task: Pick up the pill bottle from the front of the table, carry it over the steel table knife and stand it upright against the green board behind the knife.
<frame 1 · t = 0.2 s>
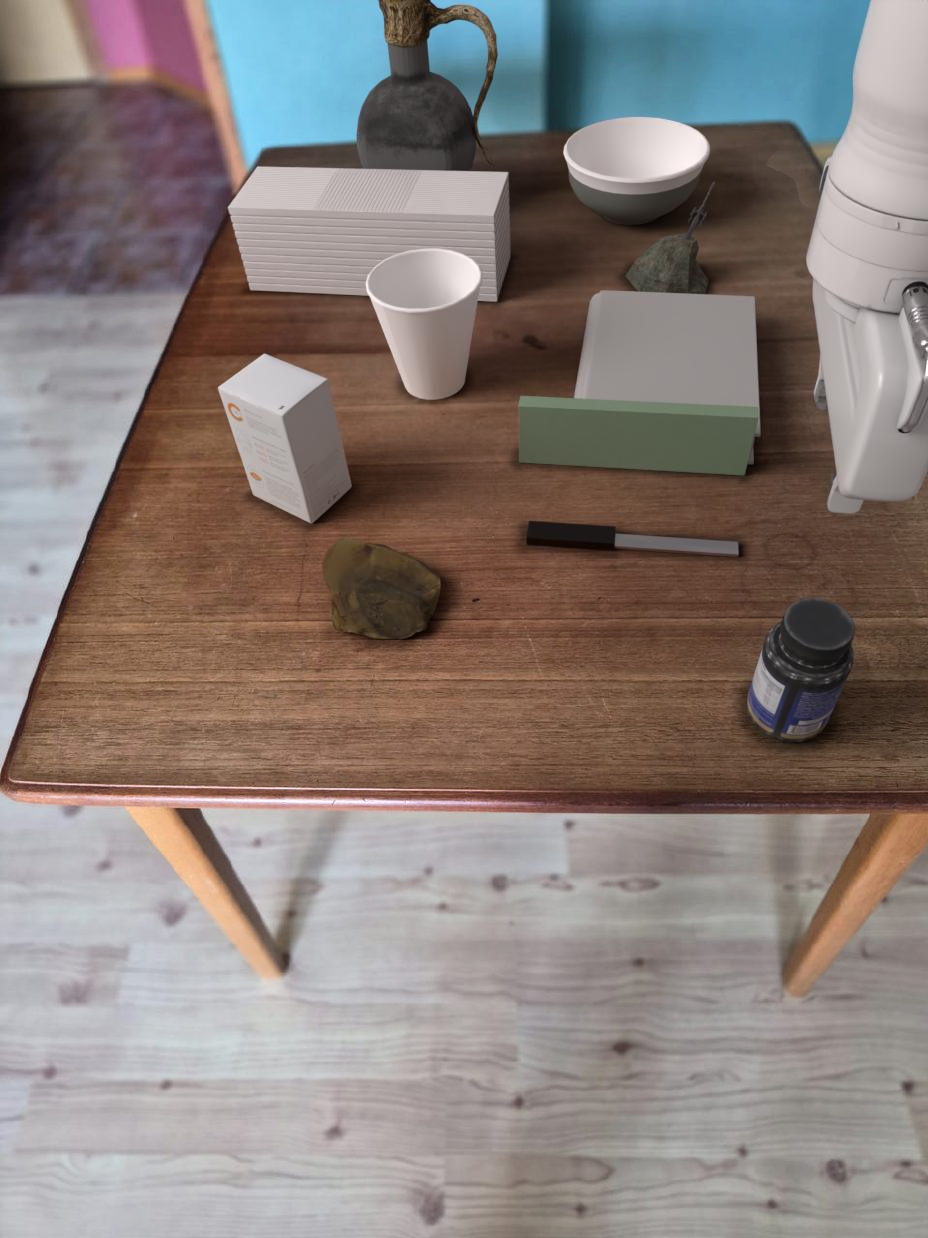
hand: (833, 452, 55), 22 cm above the table, tool pointing down, fingers open, 8 cm apart
white rectangular block: (663, 386, 96), on the table
bowl: (630, 210, 120), on the table
decorative stone: (382, 600, 79), on the table
cup: (434, 382, 99), on the table
white ribbed block: (381, 274, 114), on the table
pill bottle: (784, 713, 69), on the table
table knife: (625, 543, 81), on the table
small box: (303, 493, 88), on the table
green board: (630, 463, 88), on the table
pitcher: (435, 211, 124), on the table
sword in stone: (666, 282, 109), on the table
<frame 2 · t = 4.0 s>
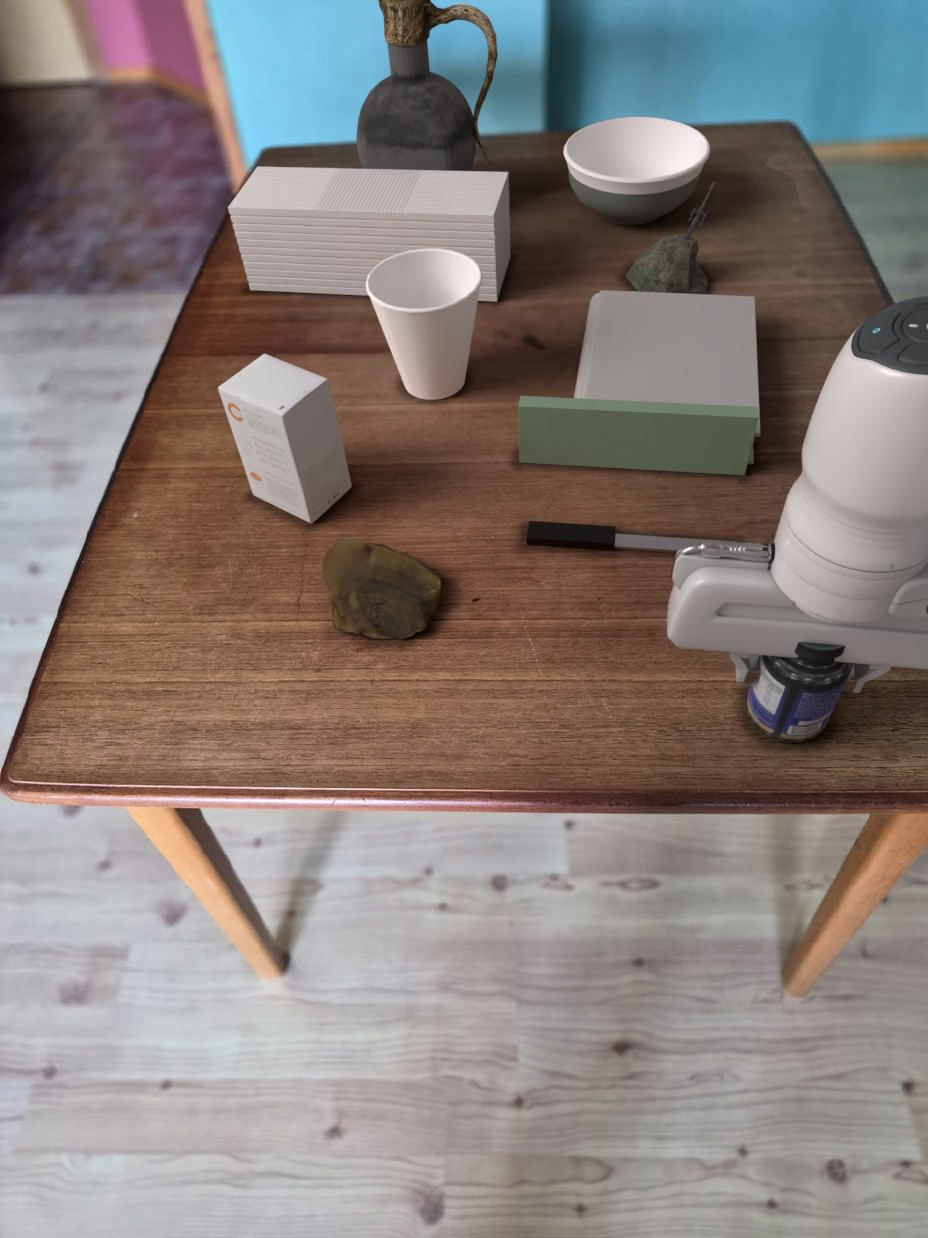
hand: (796, 680, 66), 4 cm above the table, tool pointing down, fingers closed on pill bottle, 6 cm apart
pill bottle: (784, 713, 69), on the table, touching gripper
everything else where it was.
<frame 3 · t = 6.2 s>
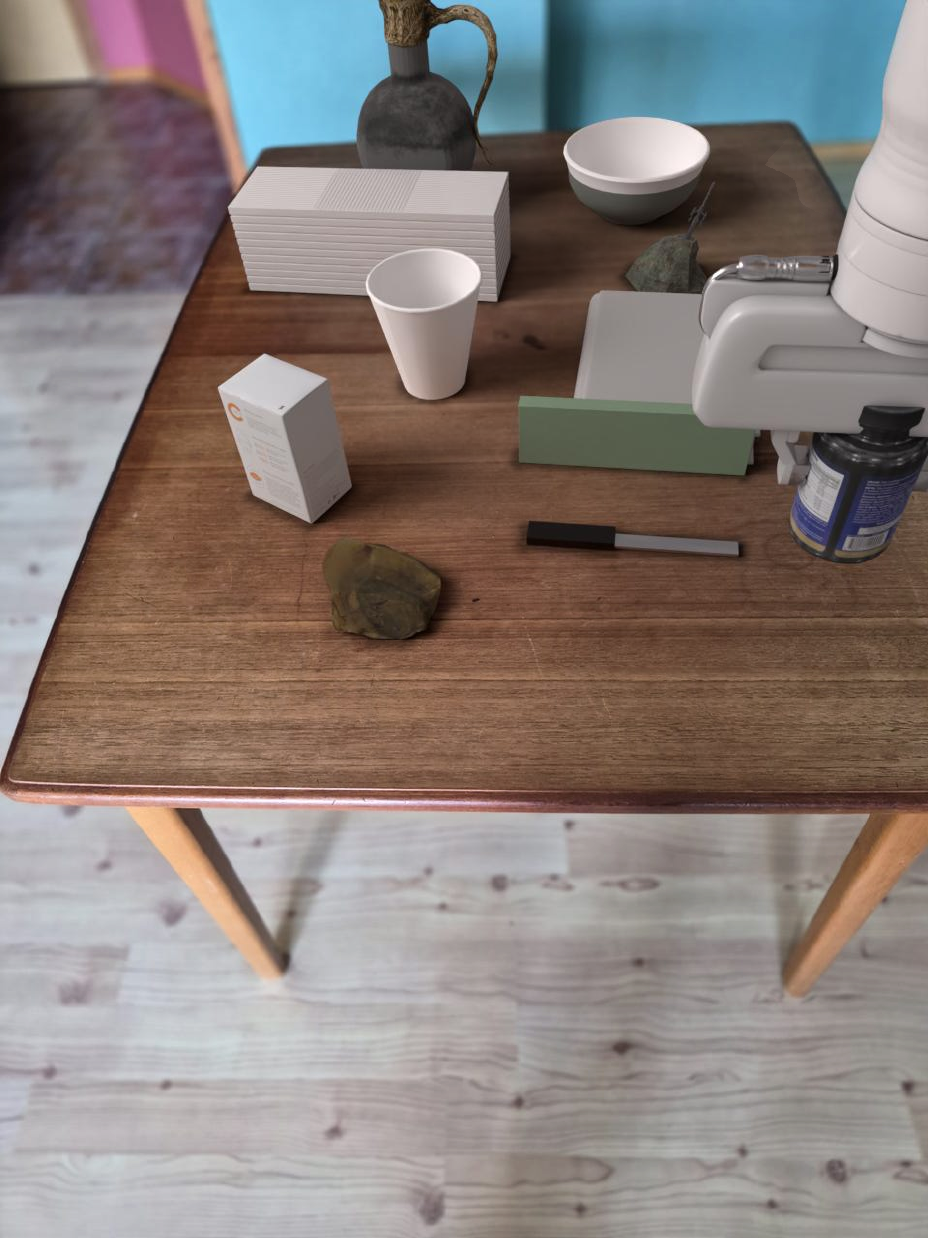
hand: (854, 481, 52), 23 cm above the table, tool pointing down, fingers closed on pill bottle, 6 cm apart
pill bottle: (836, 535, 55), point 18 cm above the table, touching gripper
everything else where it was.
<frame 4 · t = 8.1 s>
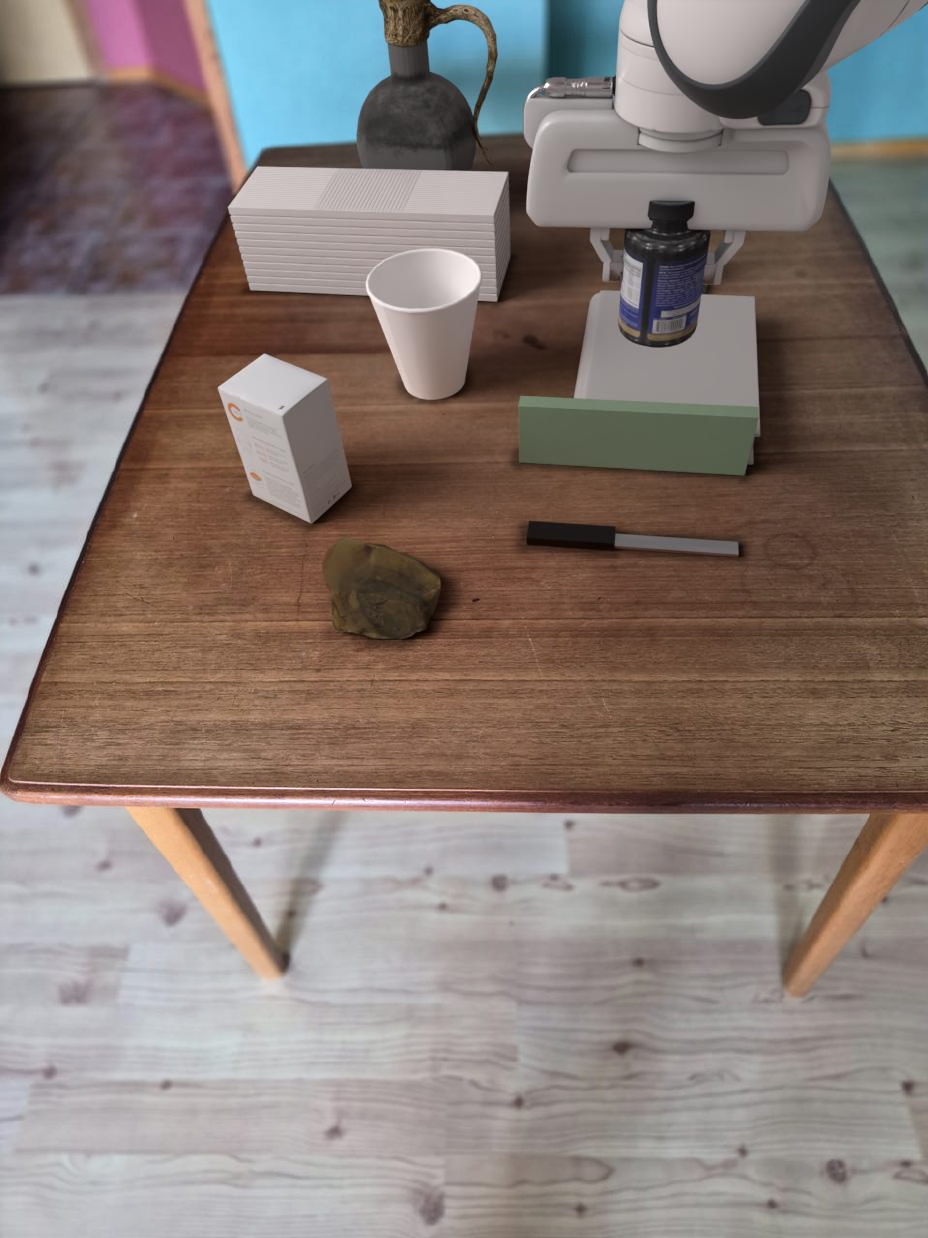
hand: (661, 279, 67), 23 cm above the table, tool pointing down, fingers closed on pill bottle, 6 cm apart
pill bottle: (655, 330, 70), point 19 cm above the table, touching gripper
everything else where it was.
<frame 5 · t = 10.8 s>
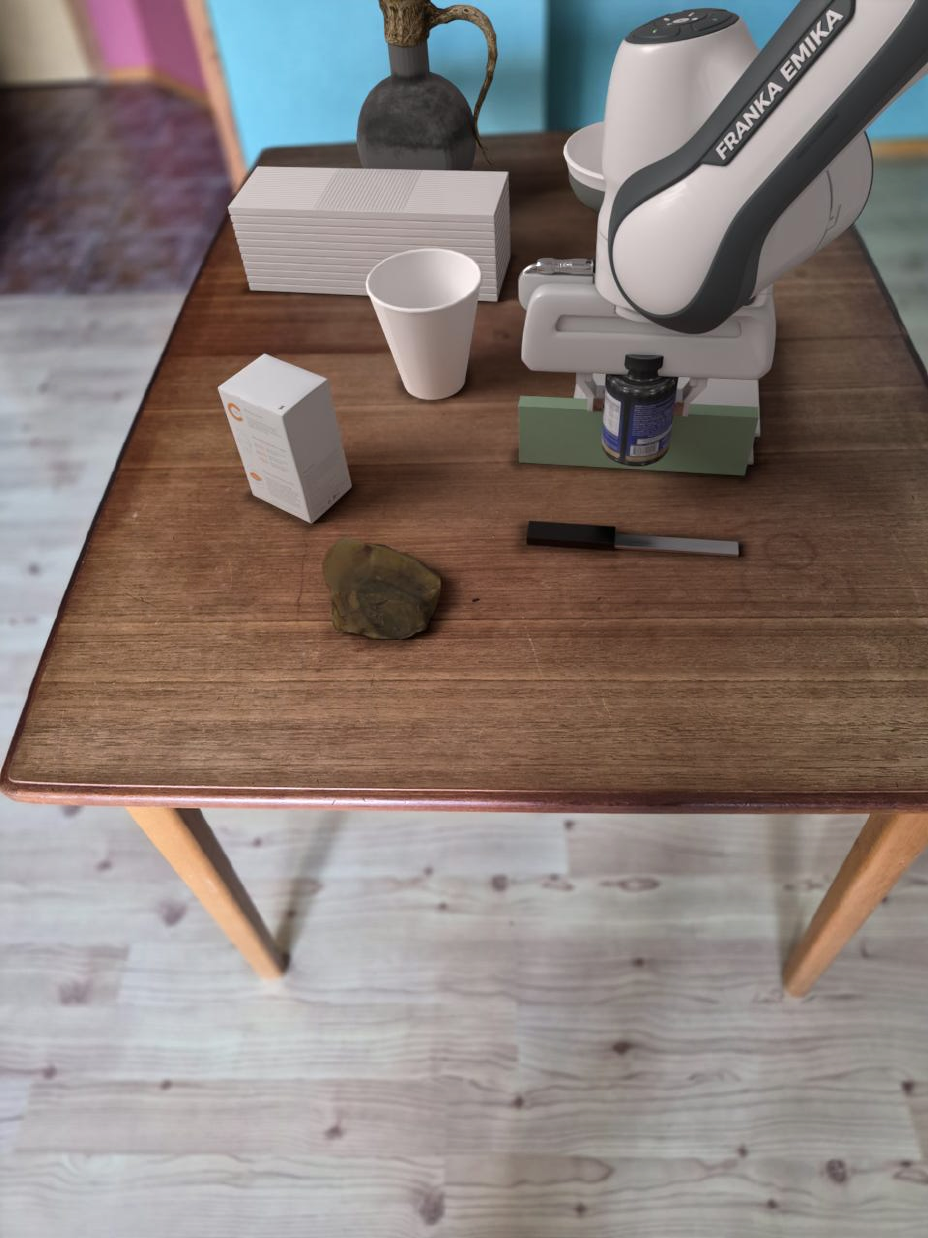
hand: (637, 410, 78), 10 cm above the table, tool pointing down, fingers closed on pill bottle, 6 cm apart
pill bottle: (634, 449, 81), point 6 cm above the table, touching gripper
everything else where it was.
when the fingers open (4 cm above the table, at t = 12.7 s): pill bottle stays where it is, on the table.
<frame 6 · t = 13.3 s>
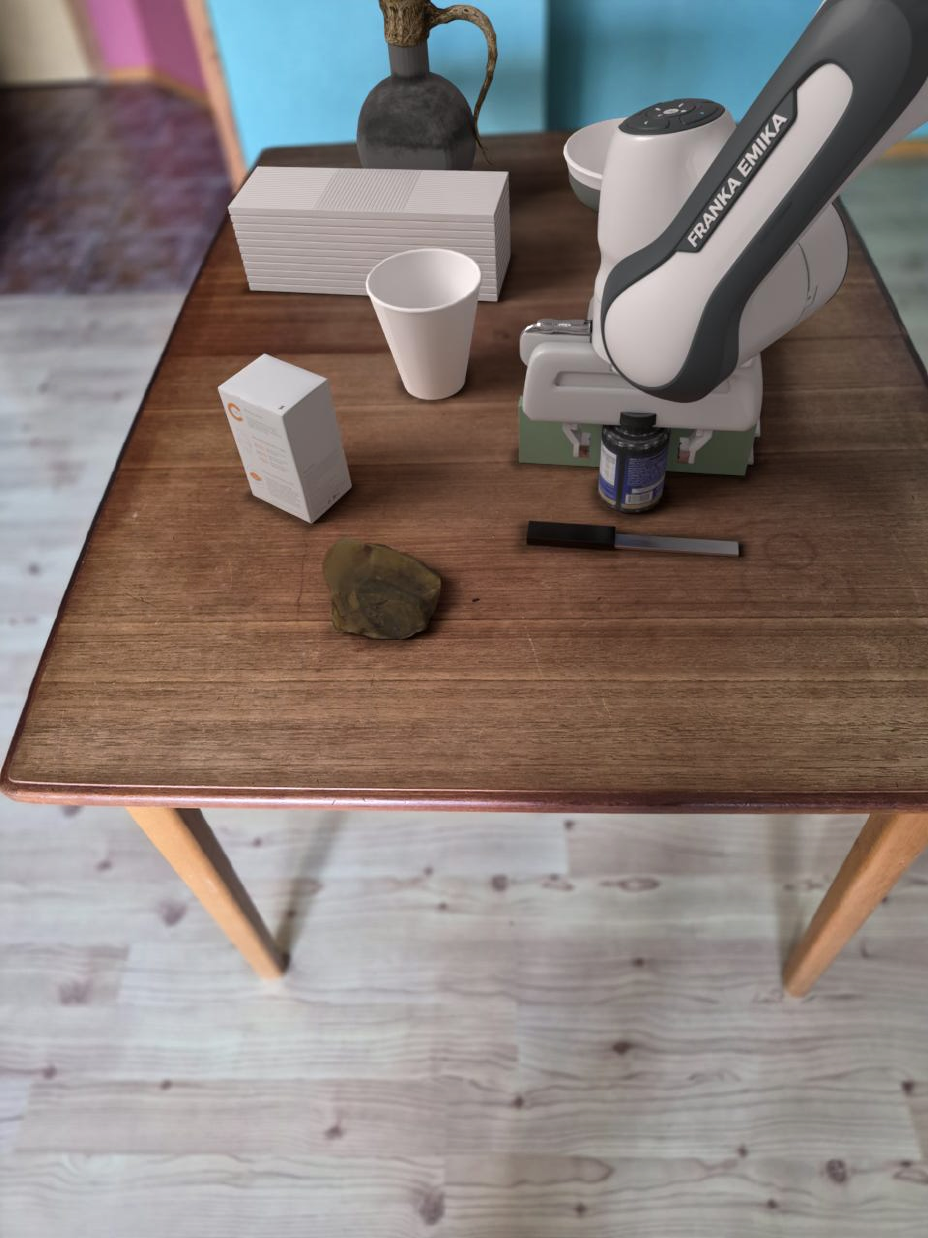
hand: (633, 456, 82), 5 cm above the table, tool pointing down, fingers open, 8 cm apart
pill bottle: (629, 495, 85), on the table
everything else where it was.
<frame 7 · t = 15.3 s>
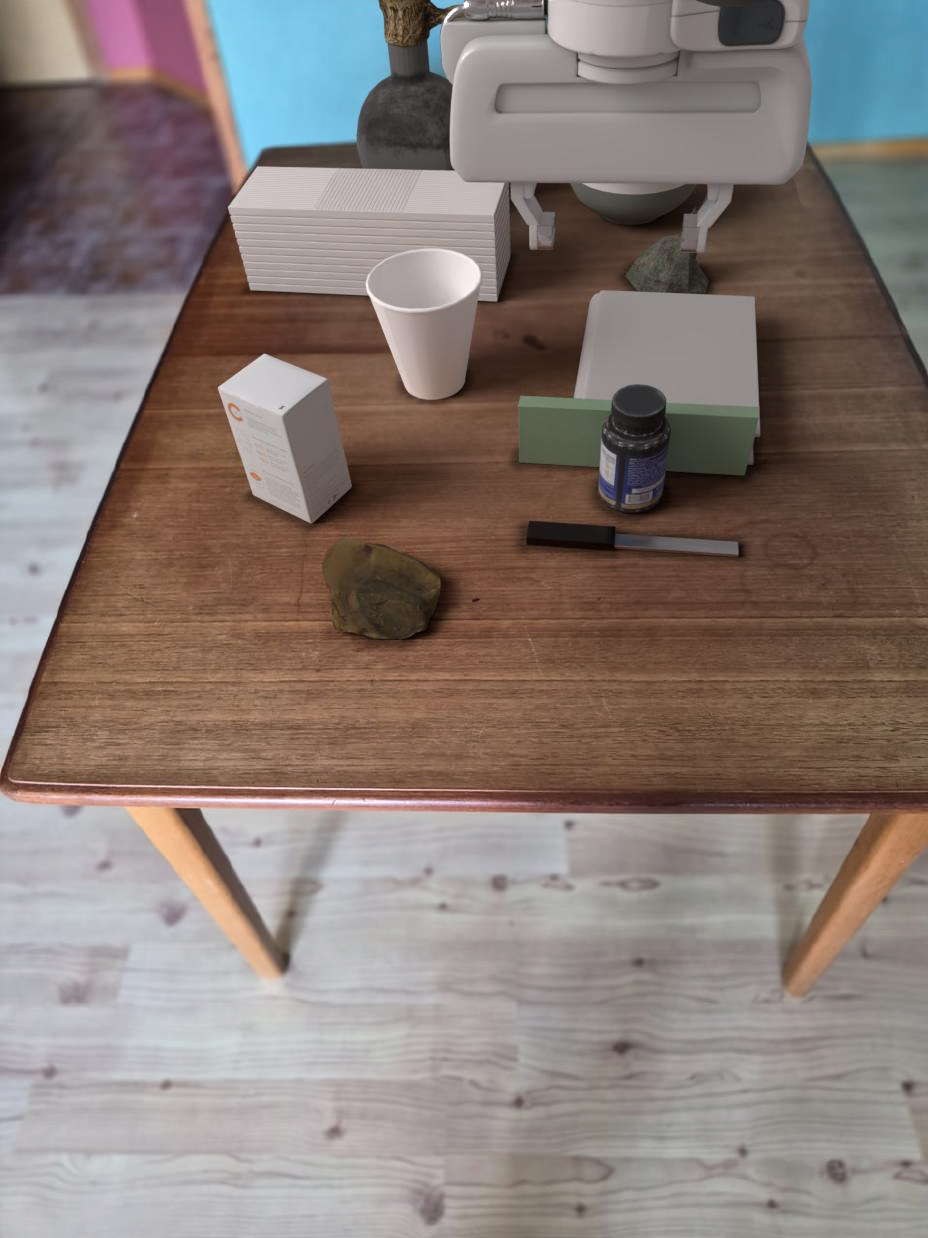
hand: (616, 246, 56), 30 cm above the table, tool pointing down, fingers open, 8 cm apart
nothing on the table moved.
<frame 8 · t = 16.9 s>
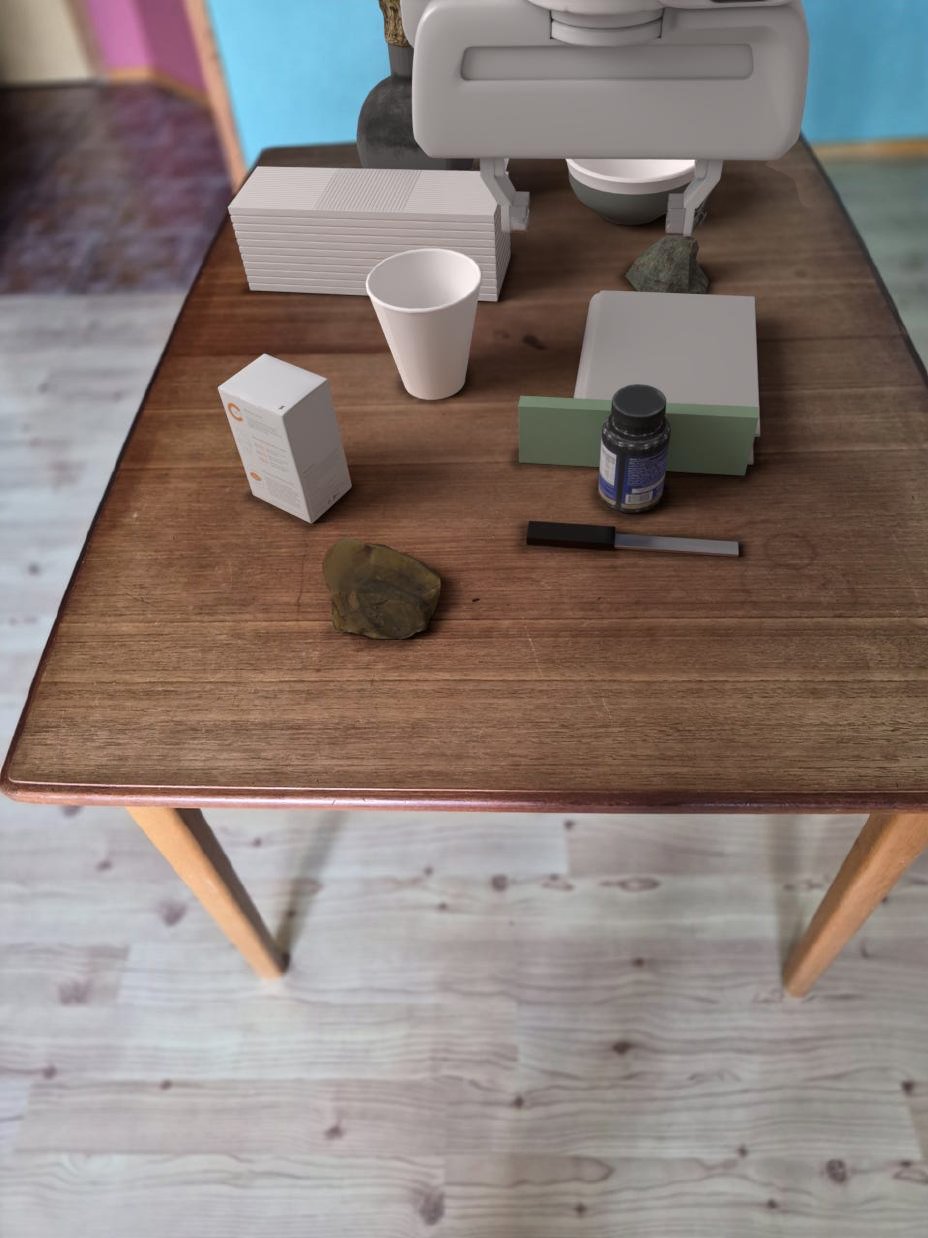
hand: (595, 230, 52), 33 cm above the table, tool pointing down, fingers open, 8 cm apart
nothing on the table moved.
at the end: pill bottle inside the target area on the table beside the green board (0.1 cm from its centre), on the table; pill bottle inside the target area on the table beside the table knife (0.9 cm from its centre), on the table; pill bottle tilted 0° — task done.
